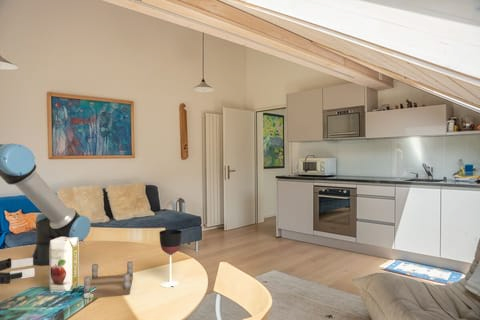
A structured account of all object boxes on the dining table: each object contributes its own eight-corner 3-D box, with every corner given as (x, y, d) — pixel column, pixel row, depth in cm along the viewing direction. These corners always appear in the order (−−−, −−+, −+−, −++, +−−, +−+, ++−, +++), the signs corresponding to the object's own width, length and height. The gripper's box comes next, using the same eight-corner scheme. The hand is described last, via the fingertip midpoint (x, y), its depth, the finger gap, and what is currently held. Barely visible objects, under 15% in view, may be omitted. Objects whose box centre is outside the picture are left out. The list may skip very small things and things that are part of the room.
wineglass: (171, 289, 120) (171, 235, 120) (154, 284, 124) (154, 232, 124) (185, 282, 127) (186, 231, 127) (169, 278, 131) (169, 228, 131)
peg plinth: (92, 282, 127) (92, 264, 127) (132, 278, 131) (132, 261, 131) (83, 299, 111) (83, 278, 111) (129, 294, 115) (129, 275, 115)
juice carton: (60, 285, 123) (60, 235, 123) (81, 286, 122) (81, 236, 122) (46, 293, 116) (46, 240, 116) (68, 295, 115) (68, 241, 115)
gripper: (-41, 278, 112) (32, 267, 124) (-54, 305, 91) (35, 288, 103) (-41, 256, 112) (32, 247, 124) (-54, 279, 91) (35, 265, 103)
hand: (33, 266), depth 114 cm, fingers open, 13 cm apart
